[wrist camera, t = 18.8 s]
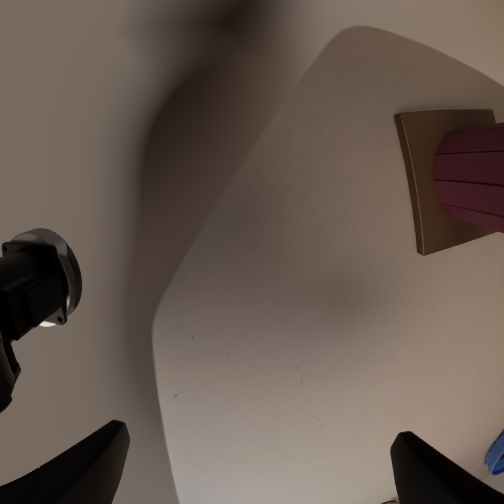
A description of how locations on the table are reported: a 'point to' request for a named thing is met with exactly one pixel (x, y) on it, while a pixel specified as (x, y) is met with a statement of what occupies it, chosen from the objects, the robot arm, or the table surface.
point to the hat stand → (422, 169)
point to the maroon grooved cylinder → (472, 175)
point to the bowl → (496, 457)
